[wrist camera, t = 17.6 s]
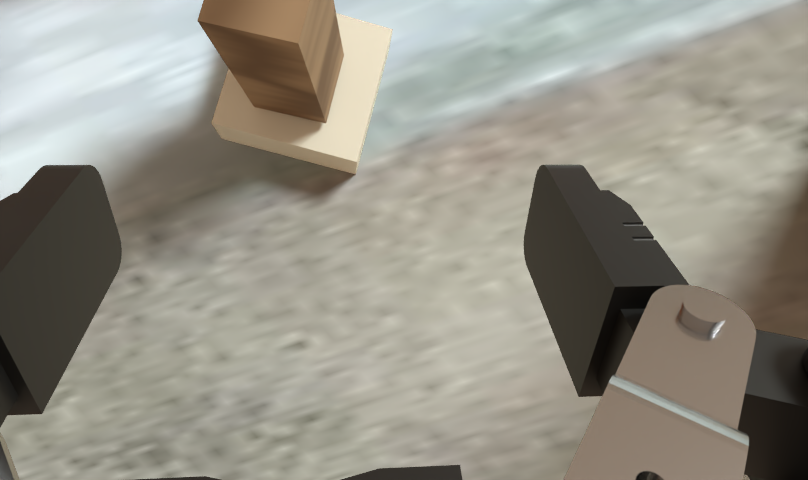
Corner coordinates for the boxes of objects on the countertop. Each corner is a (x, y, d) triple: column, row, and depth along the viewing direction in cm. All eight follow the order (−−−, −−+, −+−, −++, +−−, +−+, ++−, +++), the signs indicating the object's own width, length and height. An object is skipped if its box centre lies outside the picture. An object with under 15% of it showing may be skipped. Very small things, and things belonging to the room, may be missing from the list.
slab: (388, 54, 40) (392, 29, 36) (355, 176, 38) (357, 161, 35) (261, 18, 39) (253, -11, 36) (223, 140, 38) (211, 122, 34)
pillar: (344, 55, 35) (323, -50, 25) (326, 123, 35) (298, 43, 25) (273, 39, 35) (225, -72, 25) (254, 106, 35) (197, 20, 25)
